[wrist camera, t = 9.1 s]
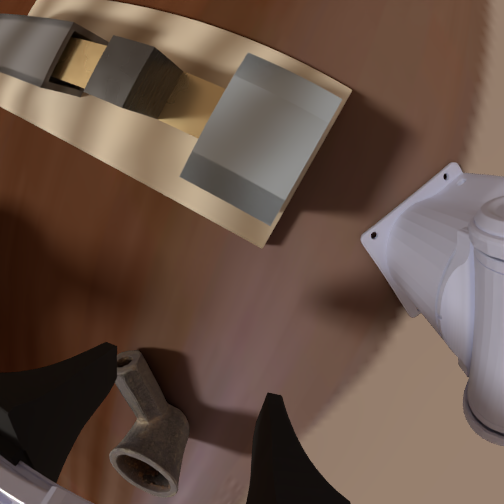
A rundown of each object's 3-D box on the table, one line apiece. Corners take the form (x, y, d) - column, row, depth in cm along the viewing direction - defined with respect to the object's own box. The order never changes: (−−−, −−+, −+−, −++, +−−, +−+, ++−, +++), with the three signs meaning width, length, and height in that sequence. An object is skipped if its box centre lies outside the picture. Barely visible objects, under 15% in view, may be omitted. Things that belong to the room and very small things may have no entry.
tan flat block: (280, 123, 17) (277, 97, 11) (256, 166, 18) (239, 164, 11) (60, 39, 17) (3, 17, 10) (44, 72, 18) (-16, 57, 11)
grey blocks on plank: (349, 94, 18) (373, 65, 12) (263, 244, 22) (254, 275, 15) (47, -2, 17) (8, -22, 11) (-4, 101, 21) (-48, 97, 14)
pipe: (163, 342, 25) (122, 402, 17) (208, 442, 28) (191, 502, 20) (107, 347, 26) (61, 398, 18) (158, 441, 29) (133, 494, 21)
